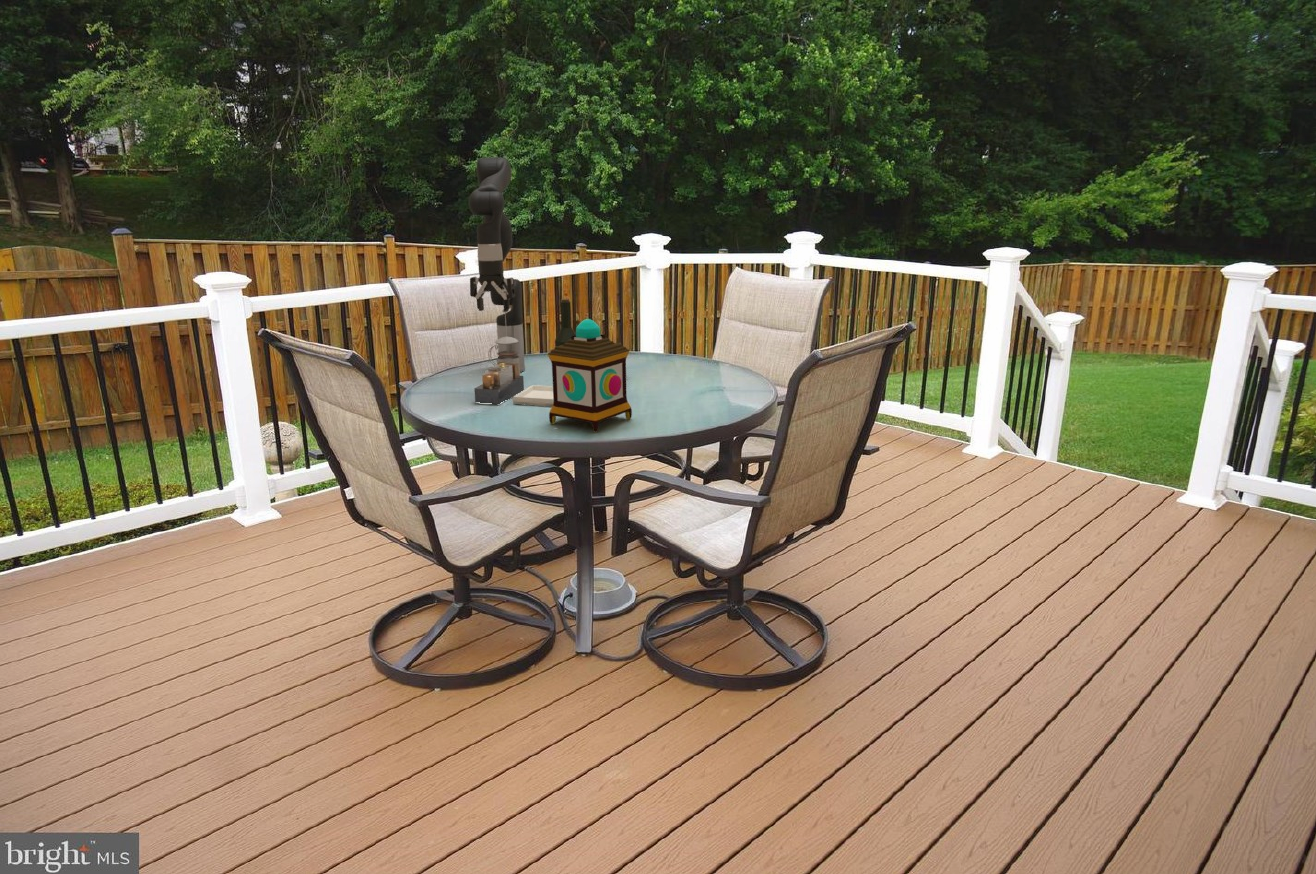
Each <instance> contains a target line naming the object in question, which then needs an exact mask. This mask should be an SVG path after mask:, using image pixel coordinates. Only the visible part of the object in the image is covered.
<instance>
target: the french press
mask: <svg viewBox="0 0 1316 874" xmlns="http://www.w3.org/2000/svg"><path fill="white" fill-rule="evenodd" d="M507 312H509V311H507ZM507 312H504V308H503V309H502V311H501V313H502V314H505V323H506V313H507ZM518 342H519V341H518V340H517V339H515V338H512V337H508V336H507V329H506V337H502V338H500V339H498V338H497V339H496V340H495V341H494V343H495V345H493V346H491V347H490V348H489V350H488V353H487V354H488V355H487V356H488V360H489V362H490V364H491V365H493V367H494V366H496V365H499V363H513V364H518V366H519V356H516V355H517V354H518V352H517V351H508V346H507V351H503V352H502V351H501V352H497V355H498V356H497V358H496V363H495V361H494V360H493V359H492V353H491V352H492V350H493V348H494V349H495V350H497V351H498V344H501V345H510V344H516V343H518ZM499 355H500V356H499ZM506 358H512V359H506ZM504 359H506V360H504ZM519 376H521V372H520V366H519Z"/></svg>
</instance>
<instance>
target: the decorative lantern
mask: <svg viewBox="0 0 1316 874" xmlns="http://www.w3.org/2000/svg"><path fill="white" fill-rule="evenodd" d="M575 334H576V336H572V337H571V339H570V340H568V341H567V342H566V343H564V344H563V345H560V346H556V347H555V346H554V348H553V349H550V352H548V353H547V356H548V359H549V360H550V362H551V372H552V373H551V375H552V377H551V378H552V386H553V399H554V402H553V406H552V407H550V411H549V413H548V418H549V423H550V424H551V425H554V424H556V419H557V417H559V418H566V419H569V420H576V421H581V422H586V423H590V424H591V426H592V431H593V433H598V431H599V425H600V423H601V422H603V421H606V420H610V419H612V418H615V417H618V416H619V415H622V414H625V415H624V416H625V418H626V419H627V420H631V419H632V415H633V413H632V407H631V405H630V402H629V401H628V398H627V379H626V378H627V359H628V355H629V353H630V349H628V348H627V346H625V345H623V344H622V343H620V342H619V343H618V342H614V341H613V340H610V338H608V337H606V335H605V334H601V327H600V326H599V325H598V324H597V323H596V322H595V321H594V320H592V319H591V318H586V319H583V320H582V321H581V322H580V323H579V324H578V325H577V326H576V329H575ZM553 423H554V424H553Z"/></svg>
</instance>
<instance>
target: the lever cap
mask: <svg viewBox="0 0 1316 874" xmlns="http://www.w3.org/2000/svg"><path fill="white" fill-rule="evenodd" d="M495 365H496V364H495ZM484 374H493V375H494V385H495V386H501V385H503V384H505V383H506V382H508V381H510V380H512V379H513V371H512V365H506V364H505V363H499V365H496V366H494V365H493V366H492V367H489V368H488V369H486V370H485V371H484Z"/></svg>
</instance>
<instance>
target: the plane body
mask: <svg viewBox="0 0 1316 874" xmlns="http://www.w3.org/2000/svg"><path fill="white" fill-rule="evenodd" d="M505 364H506V365H512V371H513V379H512V380H510V381H508V382H506V383H505V384H503V385H501V386H495V385H494V375H493V374H485V373H484V374H482V375H481V377H482V379H481V380H482V384H480V385H479V386H476V387H474V389H473V392H474V402H480V403H492V404H500V403H501V402H503V401H505V400H507V401H509V400H510V398H511V397H512V398H513V396H515V395H516V394H518V393H520V392H521V391H523V390H525V385H524V383H525V382H524V375H520V376H519V366H518V364H513V363H505ZM512 398H511V399H512ZM508 399H509V400H508ZM500 405H501V404H500Z"/></svg>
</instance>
